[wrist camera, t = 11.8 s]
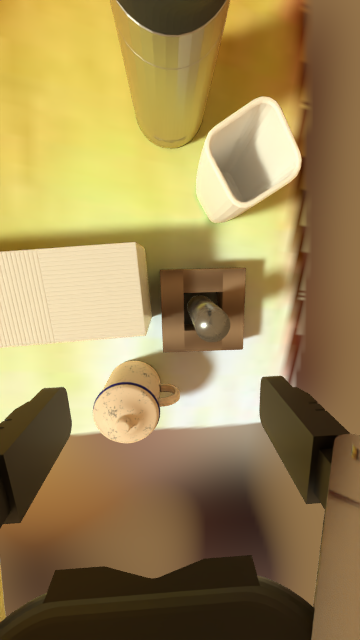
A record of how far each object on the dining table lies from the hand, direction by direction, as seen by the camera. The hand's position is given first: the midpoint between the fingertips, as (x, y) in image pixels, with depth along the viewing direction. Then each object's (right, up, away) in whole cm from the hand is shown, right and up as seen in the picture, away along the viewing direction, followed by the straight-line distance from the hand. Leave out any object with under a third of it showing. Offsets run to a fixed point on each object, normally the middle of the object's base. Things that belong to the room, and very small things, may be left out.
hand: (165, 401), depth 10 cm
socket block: (+4, +5, +29) cm, 30 cm away
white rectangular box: (-20, +8, +28) cm, 35 cm away
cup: (+6, +21, +26) cm, 34 cm away
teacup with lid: (-6, -7, +32) cm, 33 cm away
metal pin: (+4, +5, +29) cm, 30 cm away
